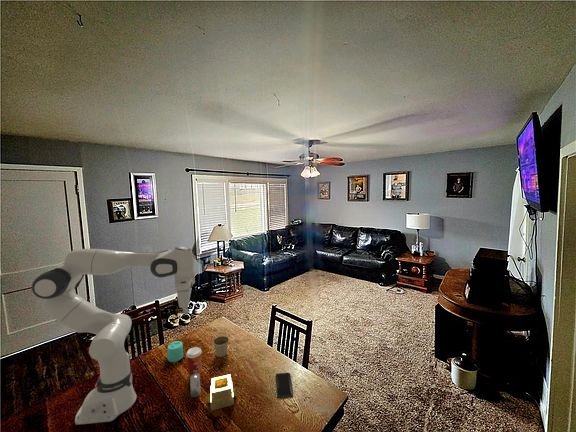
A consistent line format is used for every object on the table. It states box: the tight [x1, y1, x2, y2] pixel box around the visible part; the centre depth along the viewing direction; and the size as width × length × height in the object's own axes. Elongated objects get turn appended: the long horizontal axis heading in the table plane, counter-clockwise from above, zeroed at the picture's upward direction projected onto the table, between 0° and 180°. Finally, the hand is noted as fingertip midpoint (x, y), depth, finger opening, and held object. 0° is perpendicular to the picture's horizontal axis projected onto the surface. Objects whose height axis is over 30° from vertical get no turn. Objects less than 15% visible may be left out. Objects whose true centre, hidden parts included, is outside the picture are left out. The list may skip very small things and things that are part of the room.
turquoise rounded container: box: [166, 340, 184, 363], centre depth 146 cm, size 8×8×8 cm
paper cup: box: [185, 346, 202, 377], centre depth 131 cm, size 8×8×14 cm
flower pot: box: [212, 335, 230, 358], centre depth 149 cm, size 9×9×9 cm
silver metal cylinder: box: [189, 373, 202, 399], centre depth 120 cm, size 4×4×9 cm
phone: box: [275, 372, 294, 399], centre depth 125 cm, size 8×1×15 cm
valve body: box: [206, 374, 237, 411], centre depth 116 cm, size 13×10×8 cm
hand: (186, 308), depth 119 cm, fingers open, 8 cm apart
